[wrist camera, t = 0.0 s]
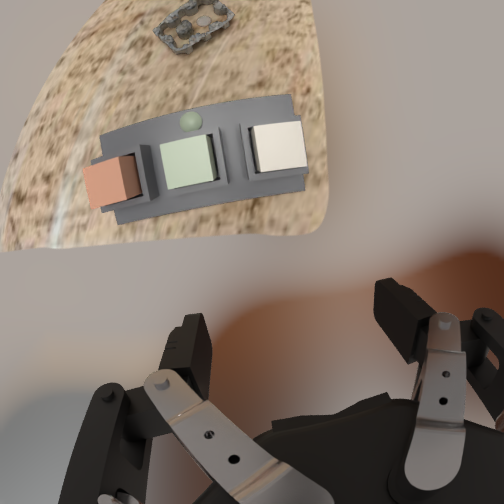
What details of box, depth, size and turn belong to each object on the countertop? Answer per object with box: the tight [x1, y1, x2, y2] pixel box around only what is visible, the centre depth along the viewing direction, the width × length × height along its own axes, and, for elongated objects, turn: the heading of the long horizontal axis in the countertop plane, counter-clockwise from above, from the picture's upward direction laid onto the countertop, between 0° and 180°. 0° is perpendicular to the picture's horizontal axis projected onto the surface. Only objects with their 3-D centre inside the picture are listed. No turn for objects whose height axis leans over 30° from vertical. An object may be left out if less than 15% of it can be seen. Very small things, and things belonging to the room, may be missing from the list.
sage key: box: [160, 134, 217, 190], centre depth 30 cm, size 5×5×6 cm
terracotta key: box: [83, 156, 143, 209], centre depth 30 cm, size 5×5×6 cm
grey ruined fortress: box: [153, 0, 235, 55], centre depth 28 cm, size 11×8×4 cm
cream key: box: [251, 121, 307, 172], centre depth 30 cm, size 5×5×6 cm
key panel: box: [91, 94, 309, 225], centre depth 34 cm, size 14×28×6 cm, turn 99°
